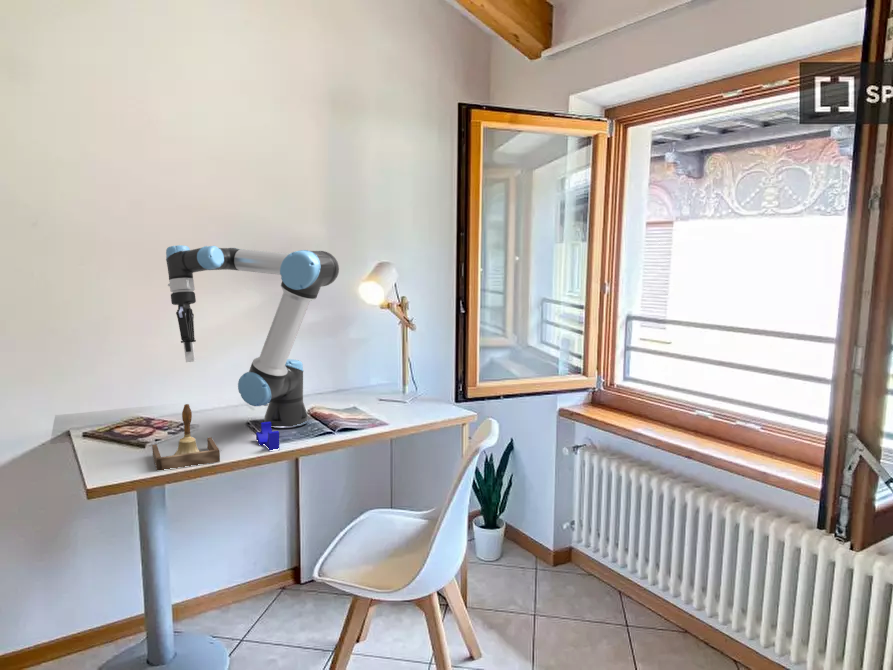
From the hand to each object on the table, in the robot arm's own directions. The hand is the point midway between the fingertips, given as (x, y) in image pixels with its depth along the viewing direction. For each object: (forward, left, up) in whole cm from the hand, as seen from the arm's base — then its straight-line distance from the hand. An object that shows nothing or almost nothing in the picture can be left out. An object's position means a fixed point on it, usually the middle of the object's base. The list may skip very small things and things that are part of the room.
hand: (190, 361), depth 197 cm
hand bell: (+5, +29, -23) cm, 37 cm away
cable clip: (-18, +29, -23) cm, 41 cm away
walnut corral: (+6, +30, -23) cm, 38 cm away
